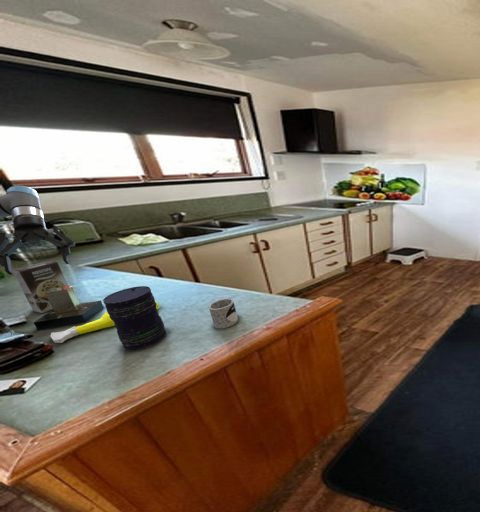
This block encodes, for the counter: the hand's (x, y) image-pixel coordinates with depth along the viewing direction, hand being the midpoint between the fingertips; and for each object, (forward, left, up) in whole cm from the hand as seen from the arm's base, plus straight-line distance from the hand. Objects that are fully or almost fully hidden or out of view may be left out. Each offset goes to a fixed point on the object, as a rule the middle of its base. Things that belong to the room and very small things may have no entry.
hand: (39, 267), depth 99 cm
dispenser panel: (+16, -19, -14) cm, 28 cm away
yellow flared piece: (+30, -27, -14) cm, 42 cm away
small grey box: (+16, -19, -11) cm, 27 cm away
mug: (+67, -40, -14) cm, 79 cm away
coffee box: (+3, -5, -14) cm, 15 cm away
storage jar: (+46, -43, -14) cm, 64 cm away
